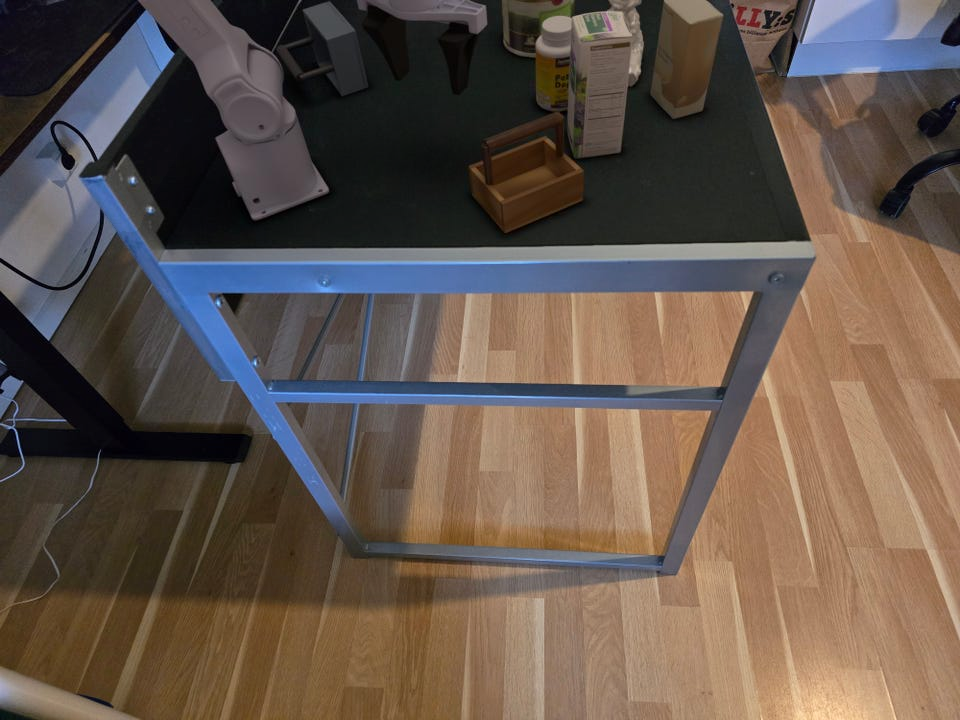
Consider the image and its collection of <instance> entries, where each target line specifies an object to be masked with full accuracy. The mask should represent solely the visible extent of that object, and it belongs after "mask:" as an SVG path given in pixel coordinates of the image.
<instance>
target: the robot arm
mask: <svg viewBox="0 0 960 720" xmlns="http://www.w3.org/2000/svg"><path fill="white" fill-rule="evenodd" d="M137 1H138V3H139V4H140V5H141V6H142V7H143V8H144V9H145V10H146V12H148V14H149V15H150V16H151V17H152V18H153V19H154V20H155V22H156V23H157V24H159V26H160V27H161V28H162V30H164V31H165V33H166V34H167V35H168V36H169V37H170V39H172V40H173V42H175V43H176V45H177V46H178V47H179V48H180V49H181V50H182V51H183V53H184V54H185V55H186V56H187V58H189V59H190V60H191V61H192V63H193V64H194V66H195V69H196V71H197V73H198V76H199V78H200V81H201V84H202V86H203V88H204V90H205V93H206V95H207V96H208V97H209V99H211V101H212V102H213V103H214V104H215V105H216V107H217V109H218V111H219V114H220V118H221V121H222V123H223V125H224V127H225V128H226V129H227V130H226V131H224V132H223V133H221V134H220V135H218V136H216V137H215V141H216V144H217V146H218V148H219V150H220V152H221V155H222V158H223V159H224V161H225V164H226V166H227V168H228V171H229V173H230V175H231V178H232V179H233V181H232V182H231V184H232V186H233V188H234V190H235V192H236V194H237V197H238V198H241V199H242V201H243V202H244V204H245V205H244V206H245V207H246V209H247V211H248V214H249V215H250V218H251V219H252V221H255V222H256V221H259V220H263V219H265V218H267V217H270V216H272V215H275V214H278V213H280V212H283V211H286V210H288V209H291V208H293V207H296V206H298V205H302V204H304V203H307V202H310V201H312V200H314V199H317V198H320V197H322V196H324V195H327V194H328V193H330V189H329V186H328V185H327V184H326V182H325V181H324V178H323V177H322V175H321V174H320V172H319V171H318V169H317V167H316V166H315V164H314V163H313V161H312V158H311V155H310V152H309V149H308V146H307V143H306V140H305V136H304V133H303V130H302V128H301V124H300V122H299V118H298V115H297V112H296V109H295V108H294V106H293V105H292V104H291V103H290V102H289V101H288V100H287V99H286V98H285V96H284V95H283V84H284V77H285V76H284V67H283V66H282V64H281V61H280V60H279V59H278V57H277V56H276V55H275V54H274V53H273V52H272V51H270V50H269V49H268V48H265V47H263V46H261V45H260V44H258V43H256V42H255V41H254V40H253V39H252V38H251V37H250V36H249V33H248V32H246V31H245V30H244V29H243V28H240V27H238V26H234V25H232V24H230V23H229V21H228V20H227V18H226V17H225V16H224V15H223V13H221V11H220V10H219V9H218V8H217V7H216V5H215V4H214V3H213V2H212V0H137ZM356 3H357V7H358V8H357V9H358V10H360V11H364V12H366V11H367V13H366V15H367V16H365V17H364V18H363V19H362V20H361V25H362V29H363V30H364V32H365V33H366V34H367V35H368V36H369V37H370V38H371V39H372V41H373V42H374V43H375V45H376V46H377V47H378V49H379V51H380V52H381V54H382V56H383V58H384V60H385V61H386V63H387V65H388V68H389V70H390V71H391V74H392V76H393V78H394V80H395V81H397V82H401V80H403V79H404V78H405V77H406V76H407V75H408V74H409V73H410V68H411V67H410V56H409V50H408V43H407V21H417V22H419V21H421V22H422V21H423V22H424V21H425V22H426V21H427V22H429V21H430V22H434V23H435V22H436V23H441V24H445V25H448V28H447V29H446V30H445V31H444V32H443V33H442V34H441V35H440V36H438V37H437V43H438V45H439V47H440V49H441V51H442V54H443V56H444V59H445V61H446V65H447V71H448V77H449V83H450V84H449V85H450V89H451V92H452V94H453V95H454V96H460V95H461V94H462V93H463V92H464V91H465V90H466V89H467V88H468V85H469V77H470V76H469V75H470V69H471V64H472V59H473V56H474V52H475V48H476V46H477V44H478V41H479V38H480V36H481V33H482V31H483V30H484V29H485V28H486V27H487V26H488V15H487V6H486V5H485V4H481V3H477V2H474V1H473V0H472V1H471V0H356Z"/></svg>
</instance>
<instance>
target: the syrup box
mask: <svg viewBox="0 0 960 720" xmlns="http://www.w3.org/2000/svg"><path fill="white" fill-rule="evenodd" d="M632 40H633V37H632V34H631V32H630V29H629V26H628V23H627V21H626V19H625V17H624V15H623V12H621V11H607V10H606V11H595V12H594V11H593V12H588V13H587V12H586V13H581V14H579V15H574V16H573V17H572V23H571V48H570V69H569V93H568V110H567V127H566V128H567V130H566V131H567V136H568V137H567V138H568V141H569V145H570V149H571V152H572V156H573V158H574V159H584V158H591V157H598V156H606V155H607V156H608V155H613V154H620V153H621V151H622V142H623V134H624V123H625V115H626V106H627V95H628V87H629V86H628V79H629V69H630V60H631V50H632Z"/></svg>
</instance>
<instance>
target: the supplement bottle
mask: <svg viewBox="0 0 960 720" xmlns="http://www.w3.org/2000/svg"><path fill="white" fill-rule="evenodd" d="M571 23H572V18H570V17H566V16H554V17H550V18H548V19H546V20H545V21H544V22H543V23H542V33H541V34H542V35H541V36H540V37H539V38H538V39H537V41H536V47H535V48H536V58H535V98H536V99H535V101H536V103H537V105H538V106H539V107H540V108H541V109H543V110H544V111H545V110H546V111H547V112H552V113H554V112H559V113H560V112H566V111H568V93H569V69H570V48H571Z"/></svg>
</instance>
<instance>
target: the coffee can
mask: <svg viewBox="0 0 960 720" xmlns="http://www.w3.org/2000/svg"><path fill="white" fill-rule="evenodd" d="M575 3H576V0H501V10H502V11H501V12H502V26H503V27H502V30H503V40H502V41H503V45H504V48H505V49H506V50H508V51H509V52H510V53H512V54H513V55H516V56H519V57H523V58H528V59H529V58H532V59H536V48H535V47H536V41H537V39H538V38H539V37H540V36H541V35H542V34H541V33H542V23H543V22H544V21H545V20H546V19H548V18H550V17H554V16H566V17H570V18H572V17H573V16H575V7H576V6H575V5H576V4H575Z"/></svg>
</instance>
